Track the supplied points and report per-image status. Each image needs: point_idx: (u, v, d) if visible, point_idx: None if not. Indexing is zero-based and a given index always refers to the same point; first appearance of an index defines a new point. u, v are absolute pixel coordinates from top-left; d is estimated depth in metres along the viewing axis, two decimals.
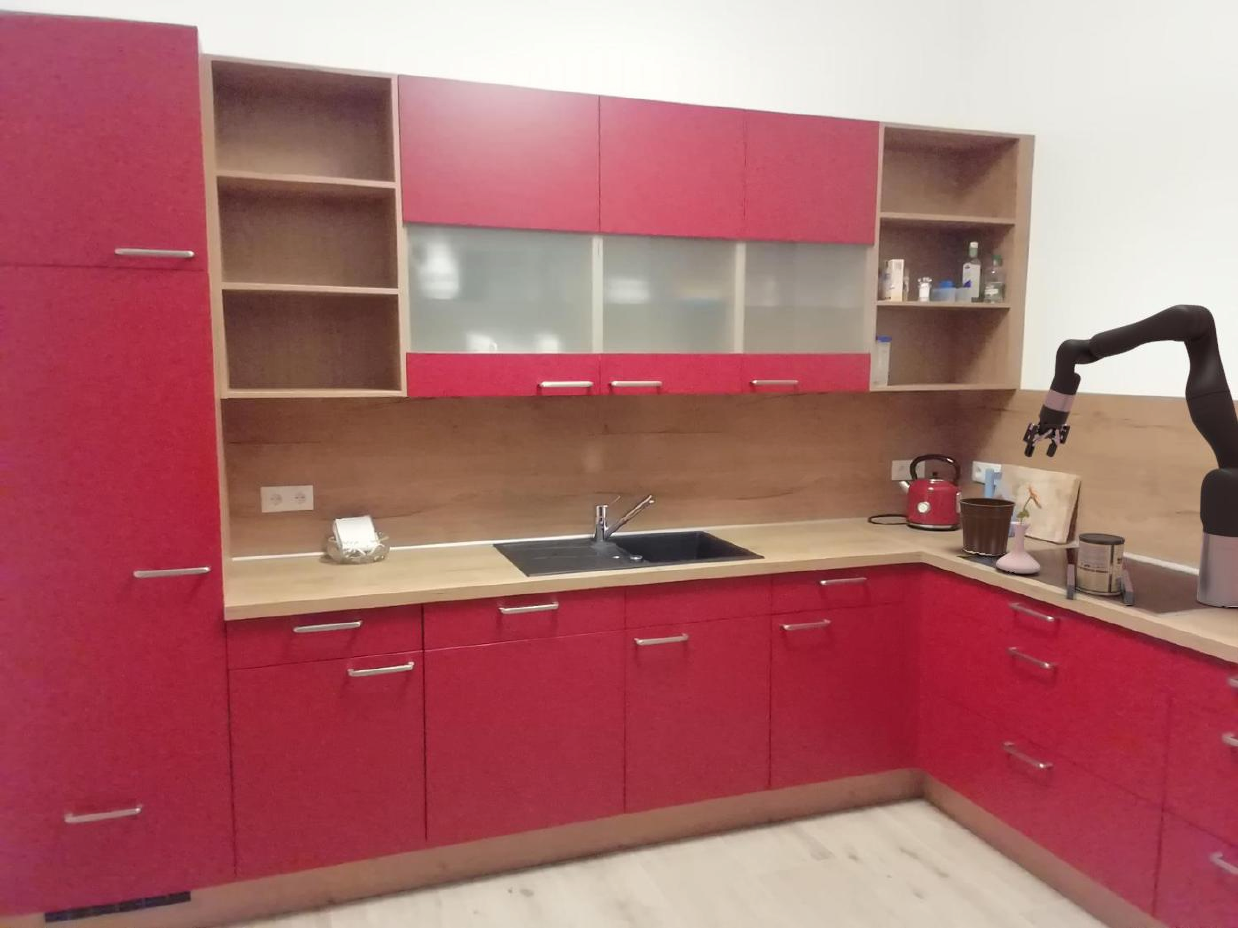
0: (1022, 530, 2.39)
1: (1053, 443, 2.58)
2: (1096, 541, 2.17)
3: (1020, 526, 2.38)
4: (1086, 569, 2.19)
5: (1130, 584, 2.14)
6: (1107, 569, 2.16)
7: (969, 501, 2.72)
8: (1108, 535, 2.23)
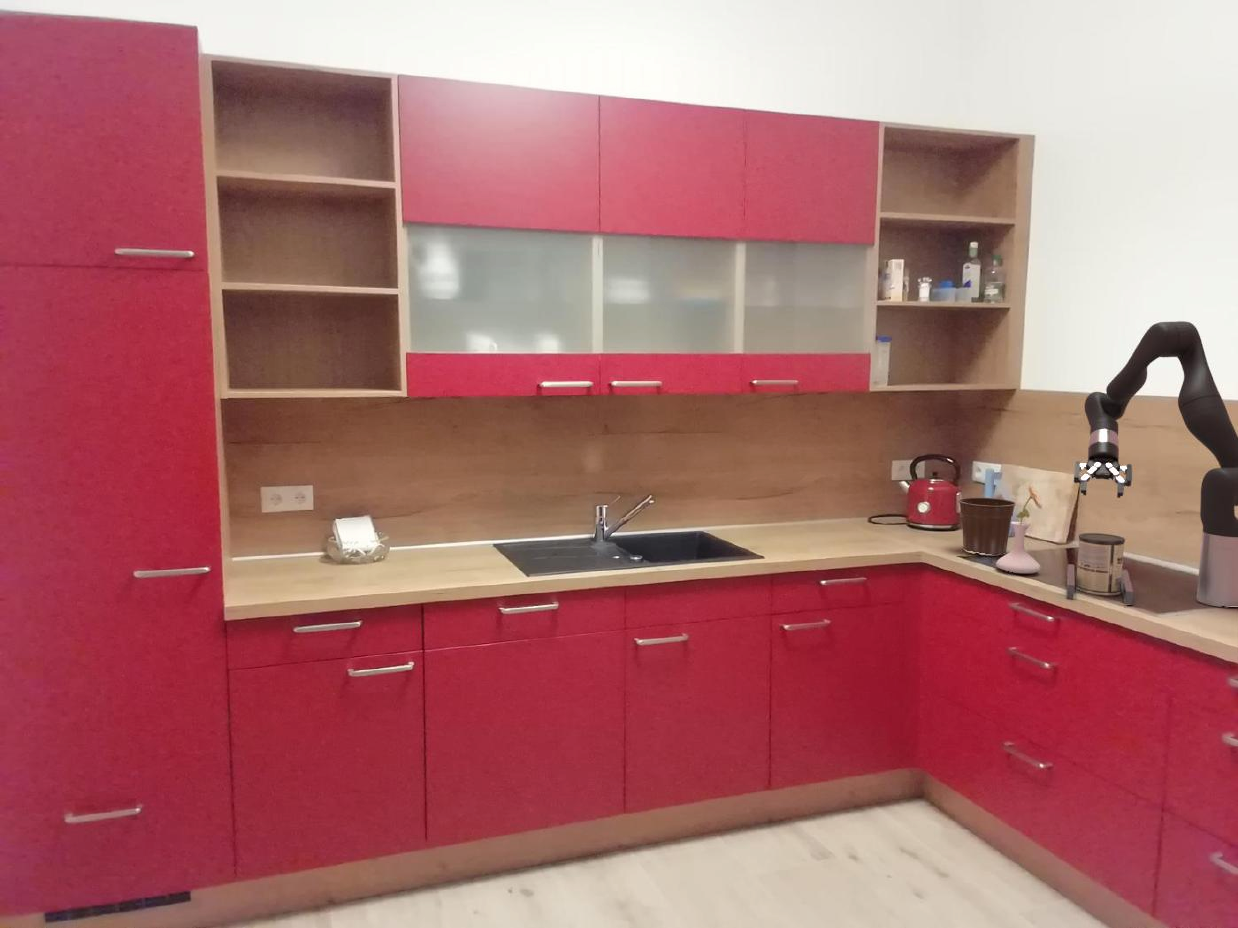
0: (1022, 530, 2.39)
1: None
2: (1096, 541, 2.17)
3: (1020, 526, 2.38)
4: (1086, 569, 2.19)
5: (1130, 584, 2.14)
6: (1107, 569, 2.16)
7: (969, 501, 2.72)
8: (1108, 535, 2.23)
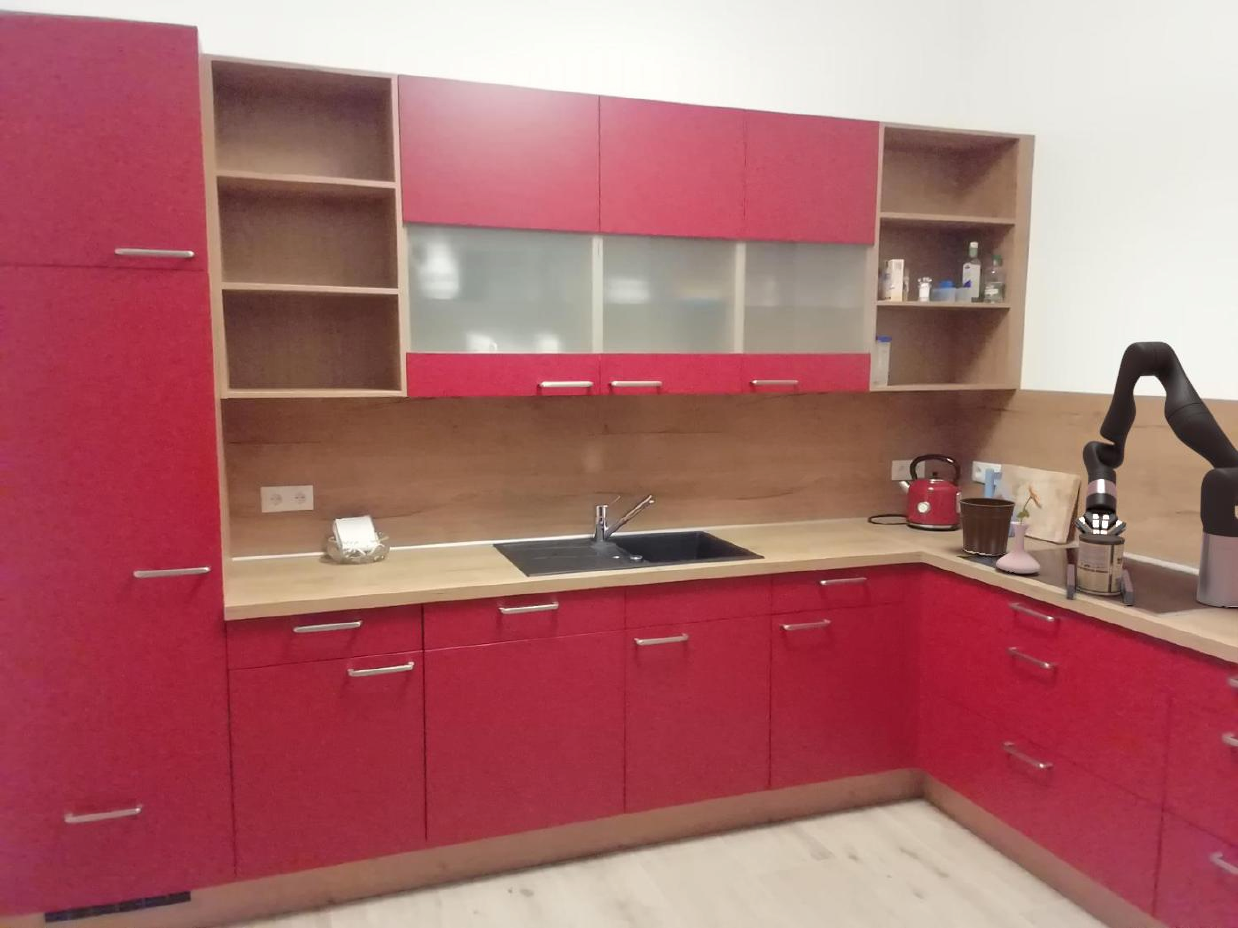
0: (1022, 530, 2.39)
1: None
2: (1096, 541, 2.17)
3: (1020, 526, 2.38)
4: (1086, 569, 2.19)
5: (1130, 584, 2.14)
6: (1107, 569, 2.16)
7: (969, 501, 2.72)
8: (1108, 535, 2.23)
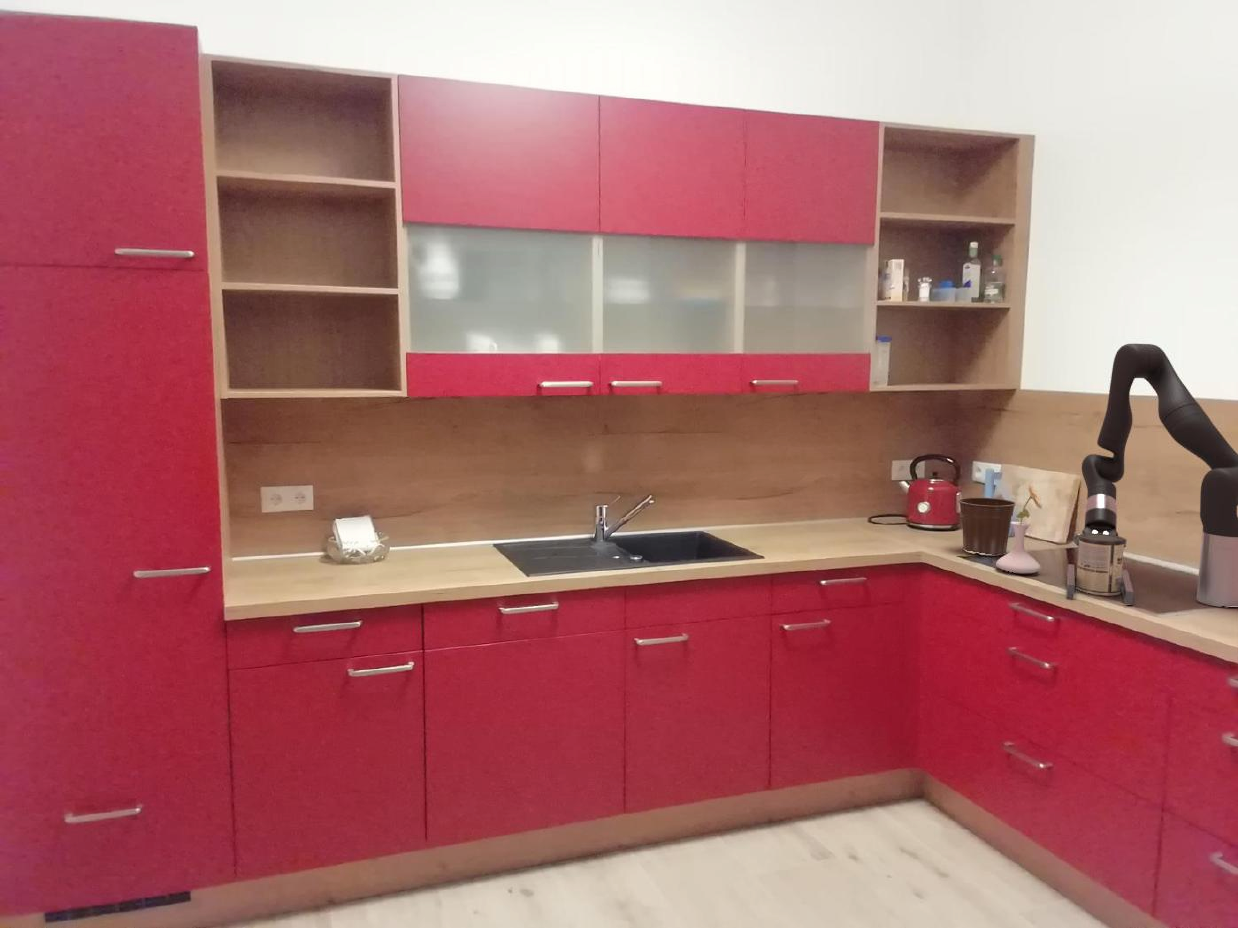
0: (1022, 530, 2.39)
1: None
2: (1096, 541, 2.16)
3: (1020, 526, 2.38)
4: (1086, 570, 2.19)
5: (1130, 584, 2.14)
6: (1107, 569, 2.16)
7: (969, 501, 2.72)
8: (1108, 535, 2.23)
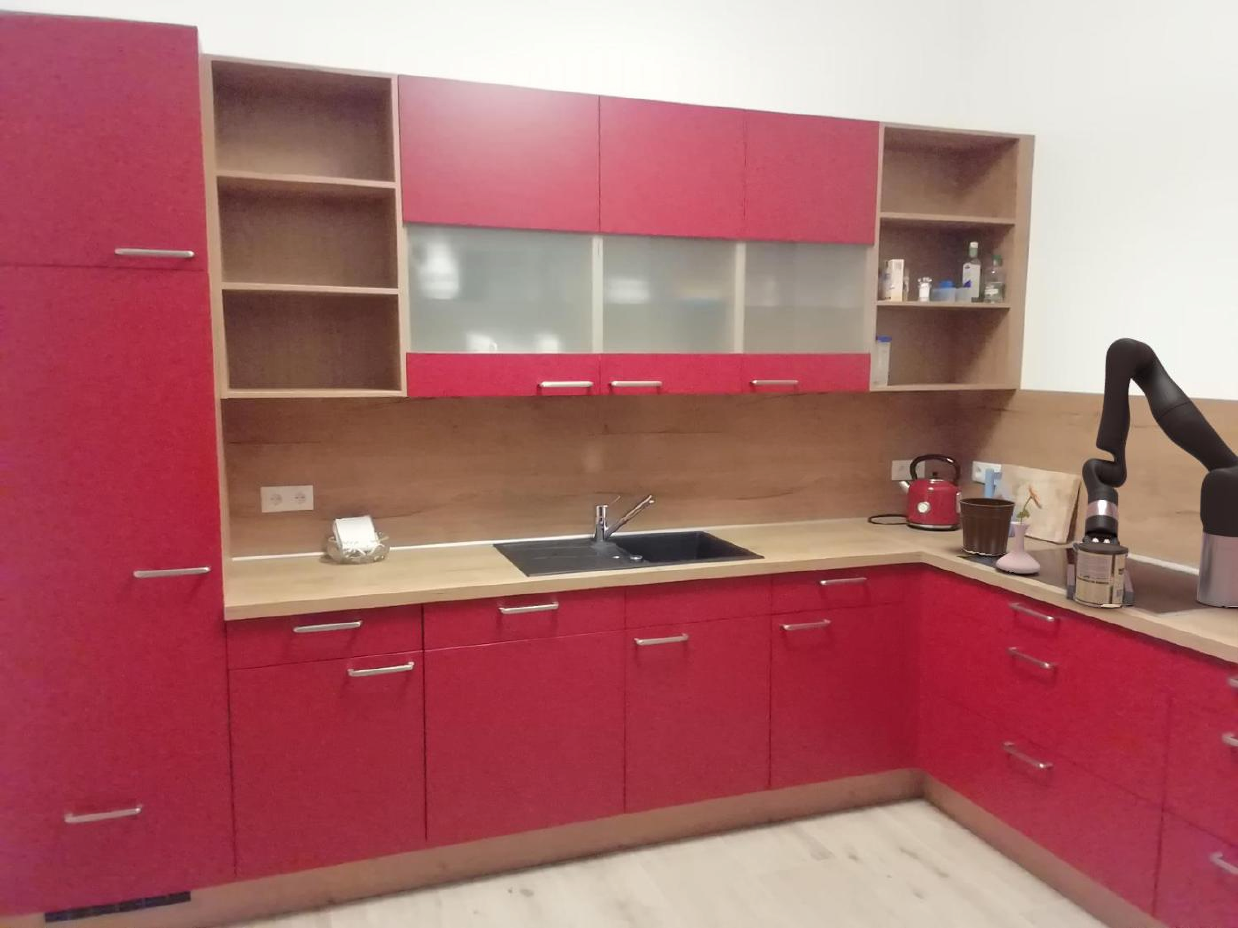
0: (1022, 530, 2.39)
1: None
2: (1096, 551, 2.05)
3: (1020, 526, 2.38)
4: (1085, 580, 2.07)
5: (1130, 584, 2.14)
6: (1108, 580, 2.04)
7: (969, 501, 2.72)
8: (1109, 544, 2.11)
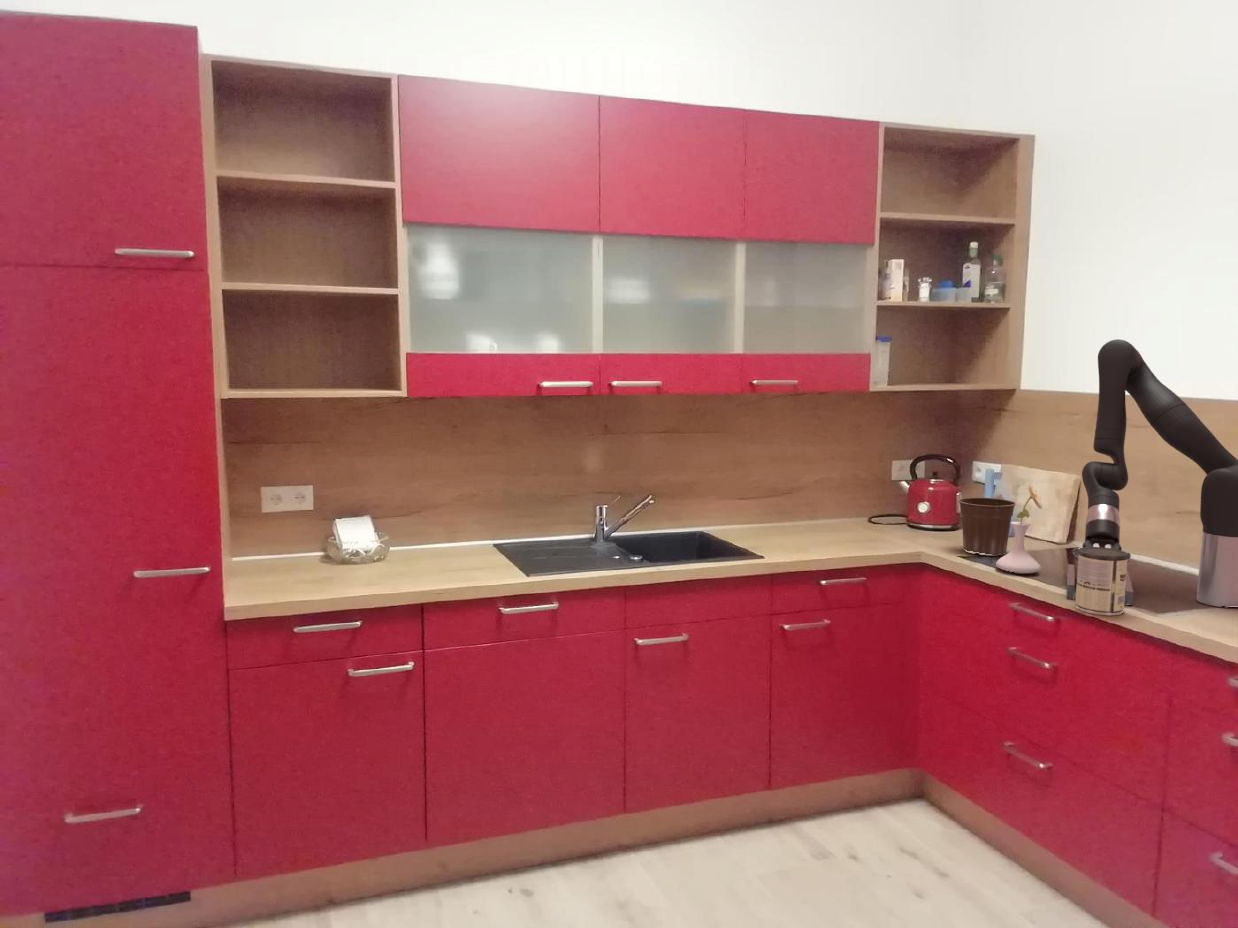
0: (1022, 530, 2.39)
1: None
2: (1097, 556, 1.99)
3: (1020, 526, 2.38)
4: (1086, 587, 2.01)
5: (1130, 584, 2.14)
6: (1109, 587, 1.98)
7: (969, 501, 2.72)
8: (1110, 549, 2.05)
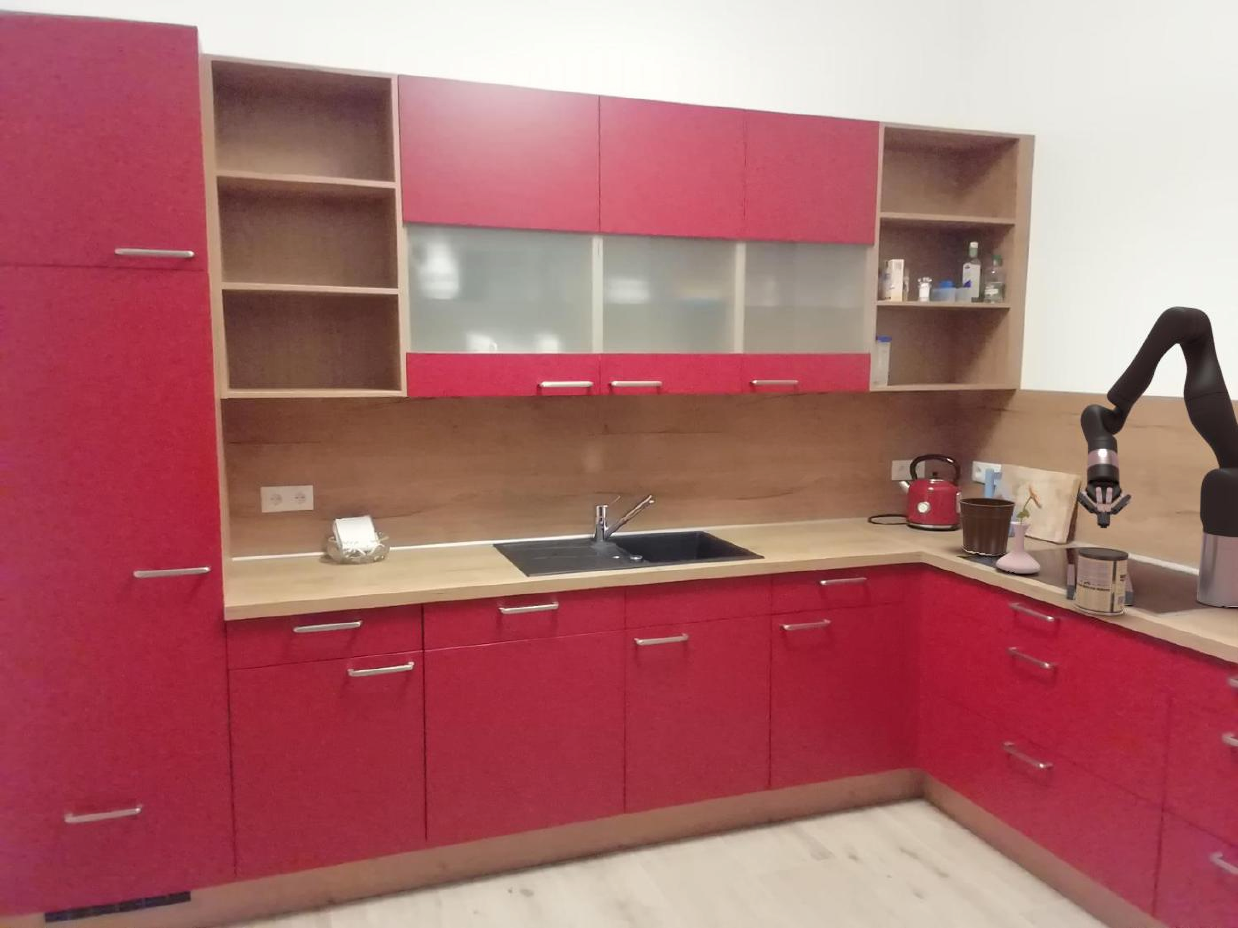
0: (1022, 530, 2.39)
1: None
2: (1097, 556, 1.99)
3: (1020, 526, 2.38)
4: (1086, 587, 2.01)
5: (1130, 584, 2.14)
6: (1109, 587, 1.98)
7: (969, 501, 2.72)
8: (1110, 549, 2.05)
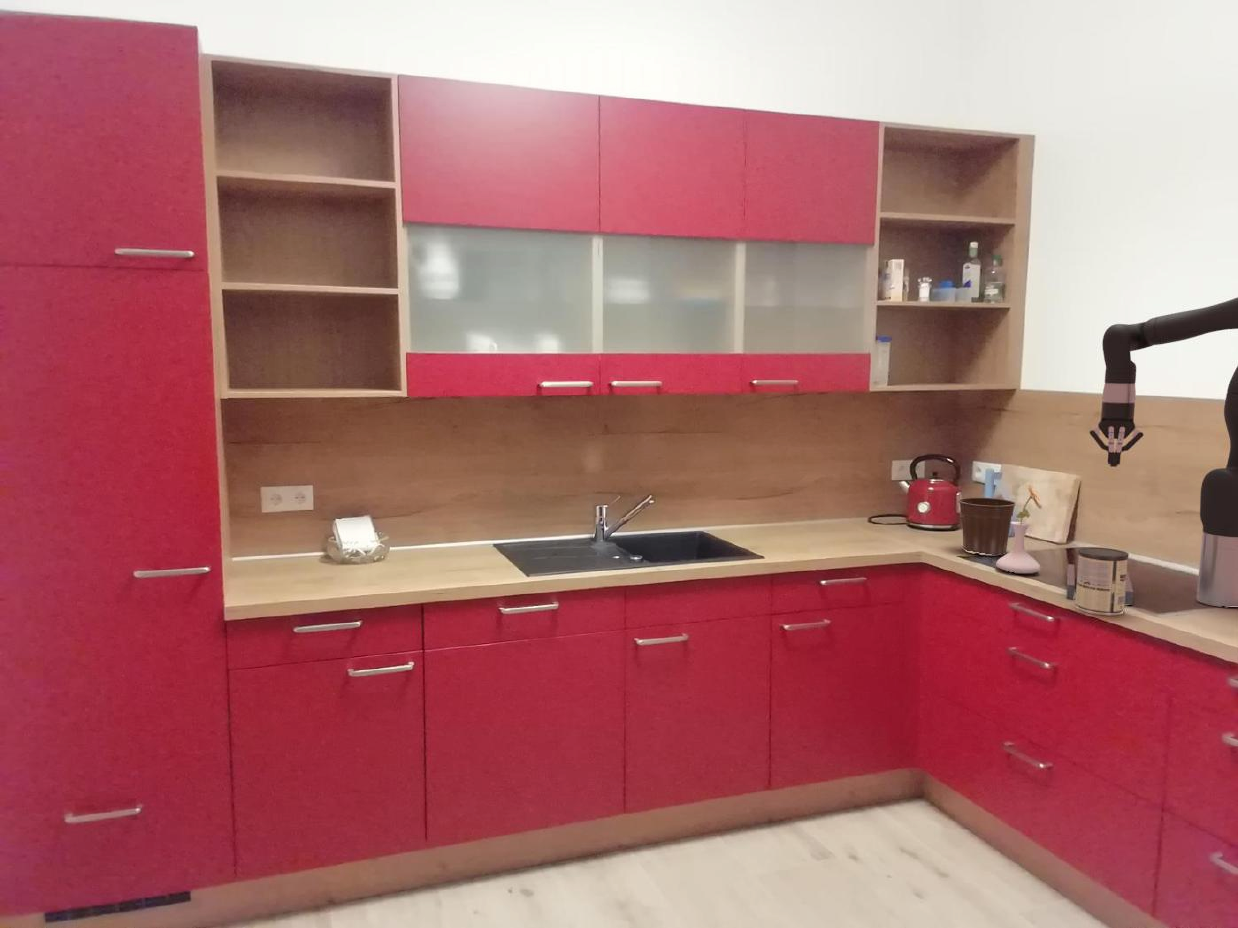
0: (1022, 530, 2.39)
1: None
2: (1097, 556, 1.99)
3: (1020, 526, 2.38)
4: (1086, 587, 2.01)
5: (1130, 584, 2.14)
6: (1109, 587, 1.98)
7: (969, 501, 2.72)
8: (1110, 549, 2.05)
